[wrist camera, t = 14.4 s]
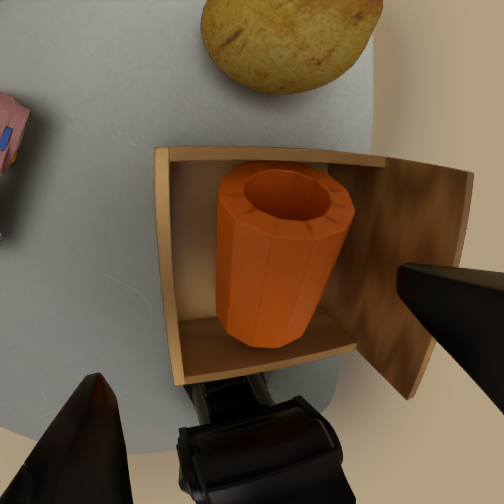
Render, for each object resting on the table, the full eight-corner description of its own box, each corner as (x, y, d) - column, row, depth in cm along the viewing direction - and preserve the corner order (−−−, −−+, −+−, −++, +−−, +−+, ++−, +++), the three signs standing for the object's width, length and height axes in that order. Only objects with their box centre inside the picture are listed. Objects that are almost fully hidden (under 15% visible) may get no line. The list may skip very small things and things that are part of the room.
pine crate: (318, 304, 25) (413, 397, 14) (165, 325, 22) (192, 467, 11) (332, 150, 21) (474, 172, 10) (153, 147, 17) (156, 148, 7)
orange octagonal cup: (329, 322, 19) (379, 217, 13) (245, 364, 17) (265, 257, 11) (278, 259, 22) (301, 153, 17) (200, 287, 20) (198, 172, 14)
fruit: (173, 76, 16) (210, -17, 6) (224, -30, 14) (300, -139, 4) (296, 121, 20) (439, 116, 9) (332, 19, 18) (457, -31, 7)
